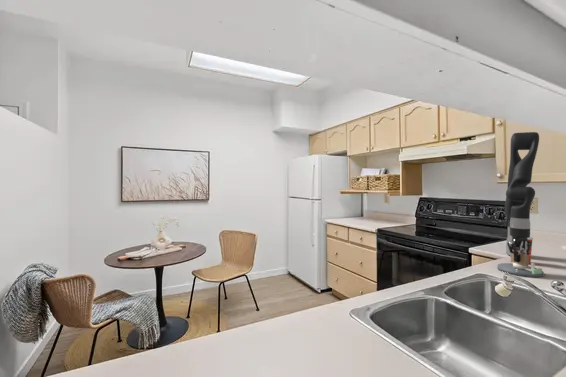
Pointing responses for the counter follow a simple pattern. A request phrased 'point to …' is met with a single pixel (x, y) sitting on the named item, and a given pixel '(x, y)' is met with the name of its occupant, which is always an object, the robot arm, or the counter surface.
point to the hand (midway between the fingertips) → (519, 261)
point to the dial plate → (520, 270)
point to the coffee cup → (530, 249)
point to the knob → (522, 262)
